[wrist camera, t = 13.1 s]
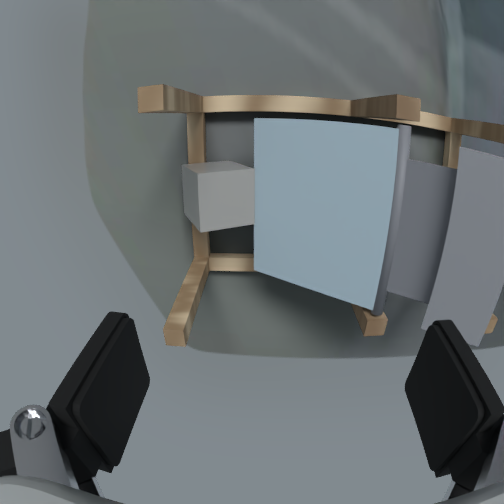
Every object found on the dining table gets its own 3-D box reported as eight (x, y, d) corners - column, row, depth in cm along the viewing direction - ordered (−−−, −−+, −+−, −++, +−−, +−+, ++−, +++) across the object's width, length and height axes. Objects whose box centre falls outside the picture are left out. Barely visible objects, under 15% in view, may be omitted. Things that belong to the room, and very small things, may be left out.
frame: (456, 120, 28) (541, 134, 15) (434, 267, 35) (491, 332, 23) (189, 98, 29) (137, 87, 16) (197, 265, 36) (166, 345, 23)
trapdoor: (518, 151, 16) (532, 154, 12) (476, 321, 22) (474, 355, 18) (279, 115, 27) (245, 114, 24) (276, 258, 33) (246, 277, 30)
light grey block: (197, 173, 24) (181, 164, 29) (200, 232, 26) (184, 213, 31) (254, 168, 26) (229, 160, 31) (254, 224, 28) (230, 207, 33)
